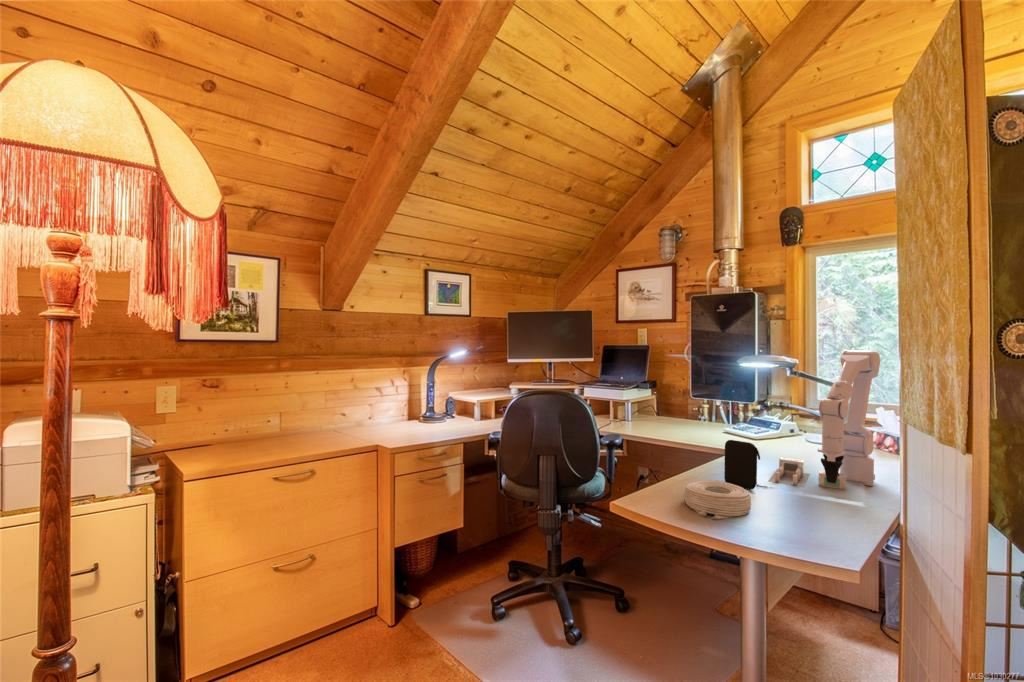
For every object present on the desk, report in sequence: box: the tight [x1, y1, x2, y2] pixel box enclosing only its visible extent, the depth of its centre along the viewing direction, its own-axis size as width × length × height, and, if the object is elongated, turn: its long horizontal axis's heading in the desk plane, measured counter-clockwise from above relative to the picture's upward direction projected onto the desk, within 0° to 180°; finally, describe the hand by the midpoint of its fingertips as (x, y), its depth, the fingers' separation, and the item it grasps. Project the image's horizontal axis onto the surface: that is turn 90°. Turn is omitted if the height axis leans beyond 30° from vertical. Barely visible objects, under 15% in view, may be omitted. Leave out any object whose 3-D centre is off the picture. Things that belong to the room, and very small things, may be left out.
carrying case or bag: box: [723, 439, 761, 491], centre depth 152 cm, size 11×3×15 cm, turn 44°
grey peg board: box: [767, 466, 811, 488], centre depth 161 cm, size 10×19×4 cm, turn 143°
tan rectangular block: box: [778, 456, 805, 477], centre depth 165 cm, size 7×4×5 cm, turn 53°
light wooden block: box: [818, 469, 847, 491], centre depth 152 cm, size 7×4×5 cm, turn 53°
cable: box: [682, 480, 752, 520], centre depth 135 cm, size 18×18×6 cm
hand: (832, 479), depth 152 cm, fingers open, 7 cm apart
